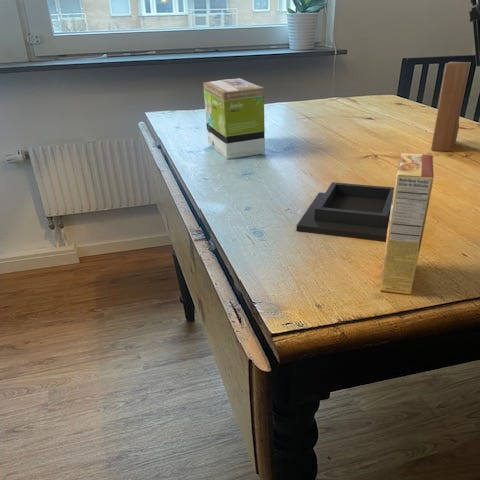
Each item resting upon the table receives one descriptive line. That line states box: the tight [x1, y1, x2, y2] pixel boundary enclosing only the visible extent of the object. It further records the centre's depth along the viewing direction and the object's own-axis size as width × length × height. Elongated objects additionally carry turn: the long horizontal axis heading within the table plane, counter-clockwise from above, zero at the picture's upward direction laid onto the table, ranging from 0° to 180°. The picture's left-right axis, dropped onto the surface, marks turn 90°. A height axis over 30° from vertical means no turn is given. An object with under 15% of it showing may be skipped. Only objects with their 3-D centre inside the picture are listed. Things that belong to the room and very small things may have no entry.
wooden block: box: [430, 61, 471, 153], centre depth 113 cm, size 9×4×18 cm, turn 154°
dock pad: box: [295, 181, 394, 242], centre depth 84 cm, size 16×16×3 cm
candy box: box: [379, 152, 435, 295], centre depth 63 cm, size 9×4×15 cm, turn 163°
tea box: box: [202, 77, 266, 160], centre depth 118 cm, size 15×10×15 cm, turn 21°
